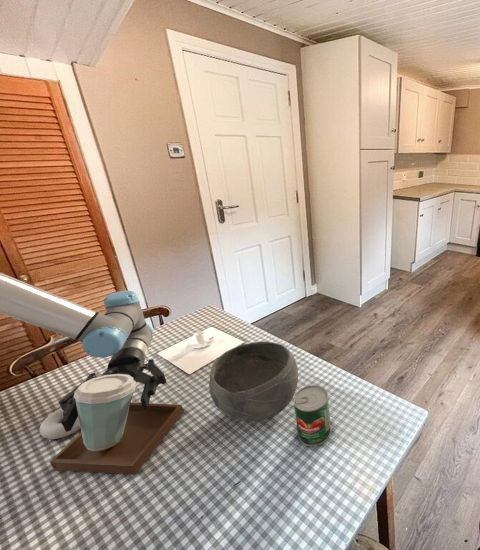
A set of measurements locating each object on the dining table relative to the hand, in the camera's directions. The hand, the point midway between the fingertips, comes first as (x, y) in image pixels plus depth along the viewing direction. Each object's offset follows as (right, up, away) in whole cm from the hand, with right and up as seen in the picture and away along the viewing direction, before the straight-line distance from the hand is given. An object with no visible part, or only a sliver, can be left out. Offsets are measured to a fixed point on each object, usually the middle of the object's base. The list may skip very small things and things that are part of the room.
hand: (106, 415), depth 65 cm
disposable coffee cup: (-4, -8, +4) cm, 10 cm away
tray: (-1, -9, +7) cm, 11 cm away
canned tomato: (+44, -8, +8) cm, 45 cm away
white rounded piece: (-1, +5, +40) cm, 41 cm away
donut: (-18, -7, +11) cm, 22 cm away
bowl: (+28, -5, +15) cm, 33 cm away
